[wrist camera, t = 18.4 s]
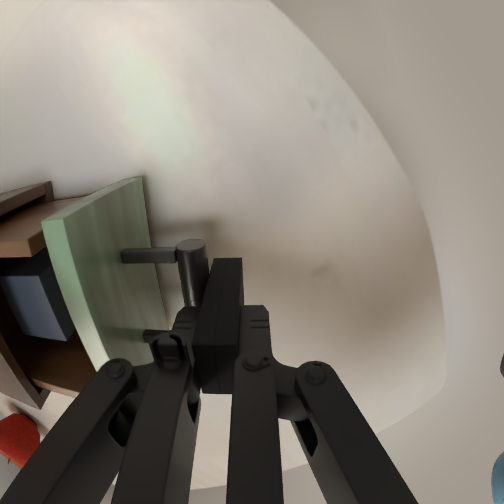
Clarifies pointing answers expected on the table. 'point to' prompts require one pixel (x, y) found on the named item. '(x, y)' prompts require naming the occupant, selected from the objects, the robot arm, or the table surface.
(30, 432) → the apple
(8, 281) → the block
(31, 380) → the drawer
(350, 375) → the table surface
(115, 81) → the table surface
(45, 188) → the cabinet
